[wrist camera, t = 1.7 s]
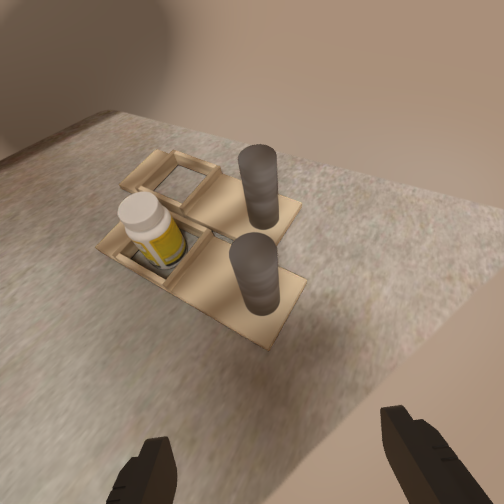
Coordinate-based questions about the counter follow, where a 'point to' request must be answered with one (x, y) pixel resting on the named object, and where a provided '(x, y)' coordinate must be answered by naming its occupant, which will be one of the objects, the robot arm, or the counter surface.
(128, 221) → the supplement bottle
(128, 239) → the wooden rack with post
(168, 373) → the counter surface
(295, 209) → the empty strip
